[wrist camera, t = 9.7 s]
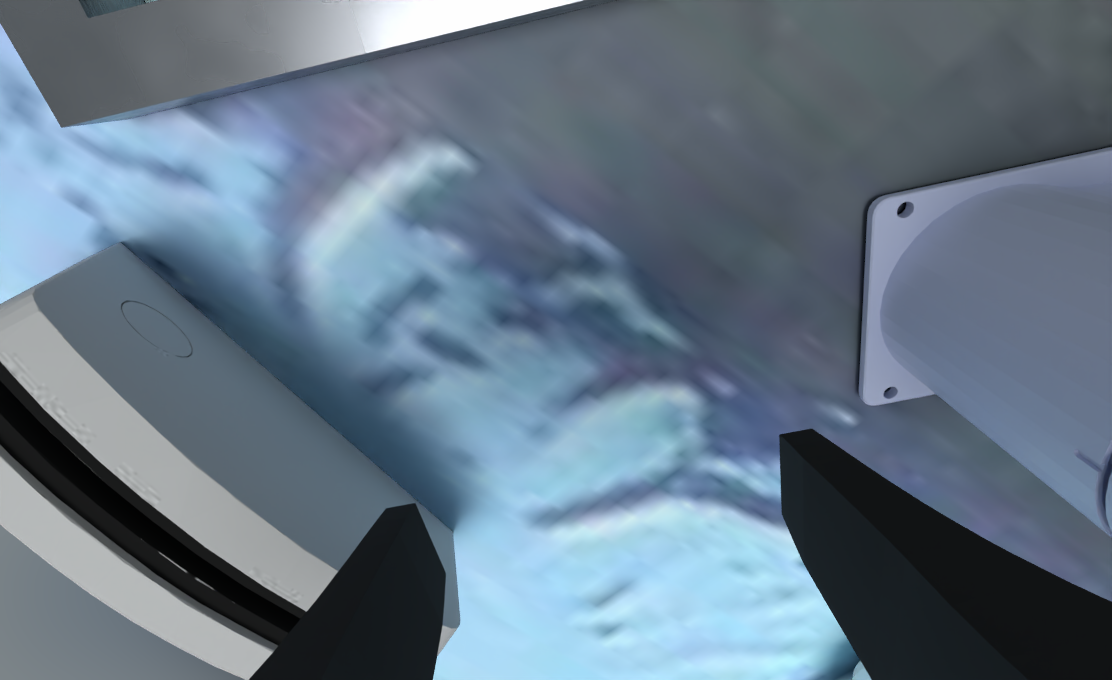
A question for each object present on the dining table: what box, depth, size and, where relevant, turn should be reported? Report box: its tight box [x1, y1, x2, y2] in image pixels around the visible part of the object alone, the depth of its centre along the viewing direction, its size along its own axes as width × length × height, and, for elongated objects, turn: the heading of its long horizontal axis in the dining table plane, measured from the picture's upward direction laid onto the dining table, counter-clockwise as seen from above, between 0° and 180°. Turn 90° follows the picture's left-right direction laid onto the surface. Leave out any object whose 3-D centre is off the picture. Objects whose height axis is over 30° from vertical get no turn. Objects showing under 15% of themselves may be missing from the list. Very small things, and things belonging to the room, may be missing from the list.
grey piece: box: [0, 242, 460, 680], centre depth 17 cm, size 17×5×10 cm, turn 36°
